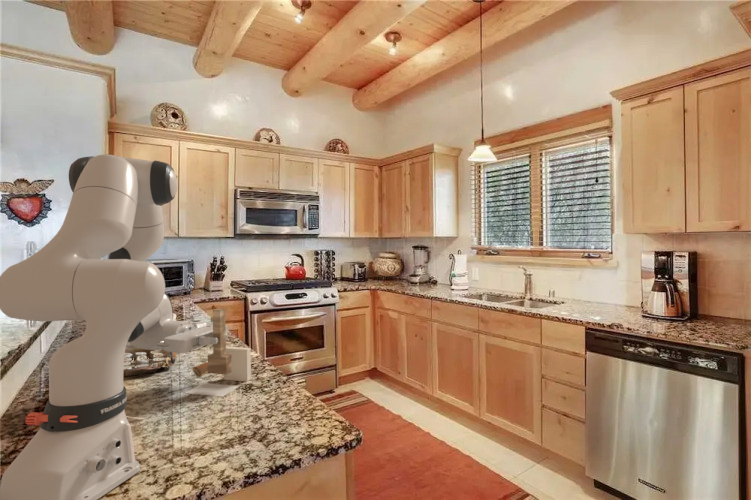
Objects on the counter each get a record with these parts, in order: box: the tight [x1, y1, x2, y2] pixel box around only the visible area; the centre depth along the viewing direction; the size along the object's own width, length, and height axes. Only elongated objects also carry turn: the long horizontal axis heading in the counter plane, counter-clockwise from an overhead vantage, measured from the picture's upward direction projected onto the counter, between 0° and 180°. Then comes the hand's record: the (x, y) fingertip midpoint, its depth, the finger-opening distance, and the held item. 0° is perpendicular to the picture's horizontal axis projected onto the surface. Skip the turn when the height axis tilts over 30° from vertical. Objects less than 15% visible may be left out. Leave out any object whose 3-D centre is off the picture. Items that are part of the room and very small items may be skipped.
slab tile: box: [223, 346, 252, 383], centre depth 121 cm, size 2×8×10 cm, turn 76°
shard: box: [192, 362, 209, 377], centre depth 130 cm, size 11×8×2 cm
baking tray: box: [123, 344, 178, 377], centre depth 136 cm, size 30×22×5 cm
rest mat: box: [184, 382, 240, 397], centre depth 113 cm, size 8×12×1 cm, turn 76°
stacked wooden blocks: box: [207, 308, 232, 376], centre depth 112 cm, size 2×6×18 cm, turn 76°
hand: (222, 338), depth 112 cm, fingers closed on stacked wooden blocks, 2 cm apart
